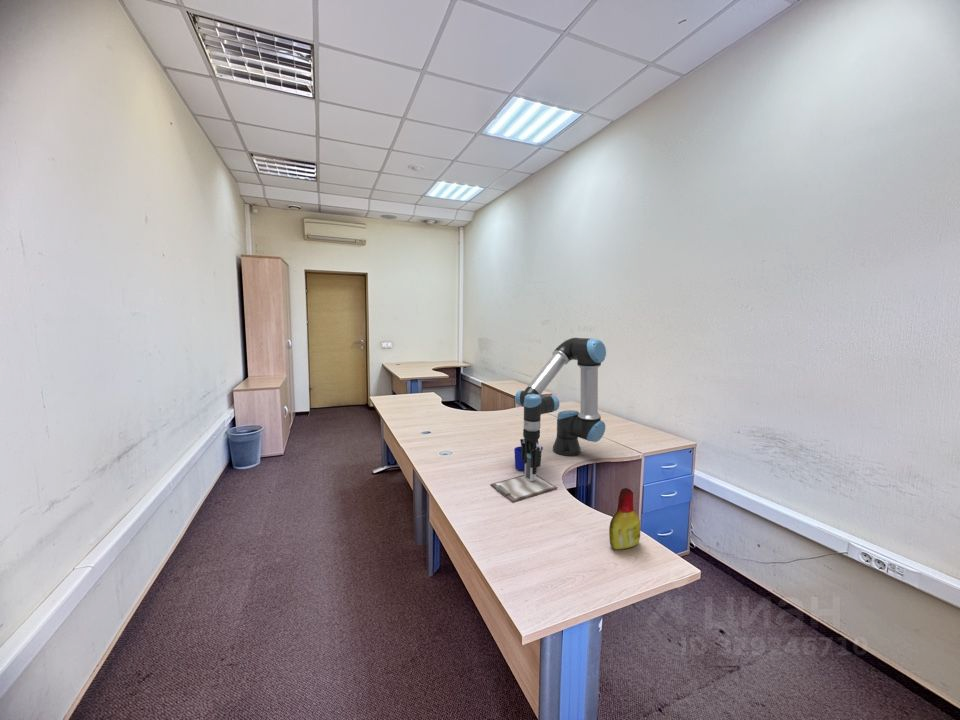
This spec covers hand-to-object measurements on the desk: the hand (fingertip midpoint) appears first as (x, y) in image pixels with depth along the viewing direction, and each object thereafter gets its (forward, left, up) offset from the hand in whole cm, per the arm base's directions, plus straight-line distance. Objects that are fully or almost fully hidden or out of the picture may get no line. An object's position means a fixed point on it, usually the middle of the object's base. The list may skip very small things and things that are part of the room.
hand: (530, 478), depth 165 cm
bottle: (+2, +52, -2) cm, 52 cm away
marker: (0, 0, -1) cm, 1 cm away
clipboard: (+6, +3, -2) cm, 7 cm away
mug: (-7, -12, -2) cm, 14 cm away
